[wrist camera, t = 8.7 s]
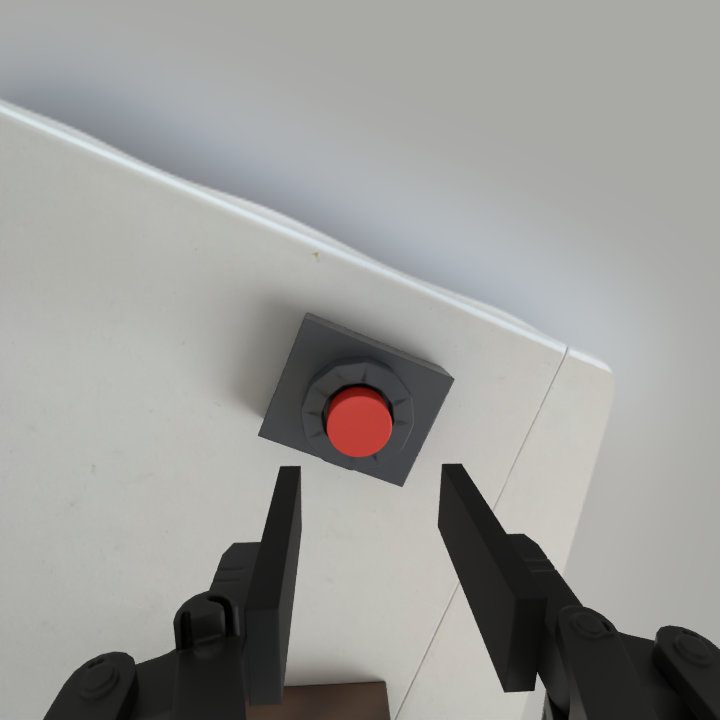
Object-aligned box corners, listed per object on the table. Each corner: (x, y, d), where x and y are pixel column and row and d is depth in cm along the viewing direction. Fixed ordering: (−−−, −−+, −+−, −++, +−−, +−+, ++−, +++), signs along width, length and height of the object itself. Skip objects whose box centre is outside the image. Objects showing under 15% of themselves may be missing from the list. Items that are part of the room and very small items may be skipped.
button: (397, 399, 24) (402, 409, 22) (373, 452, 25) (376, 466, 23) (341, 377, 24) (341, 386, 22) (317, 431, 24) (316, 444, 23)
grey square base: (443, 368, 28) (464, 387, 24) (396, 467, 30) (407, 503, 25) (307, 312, 27) (302, 322, 22) (264, 420, 28) (251, 448, 24)
